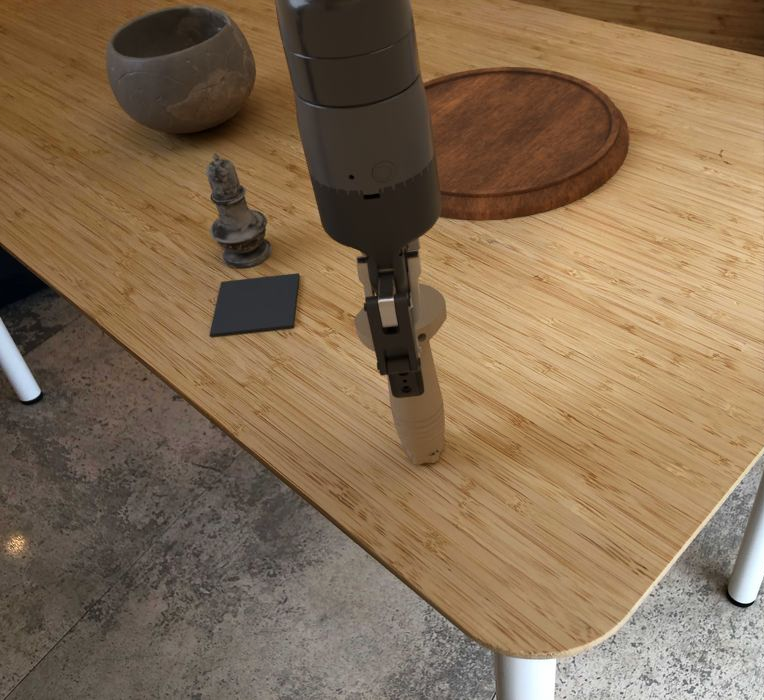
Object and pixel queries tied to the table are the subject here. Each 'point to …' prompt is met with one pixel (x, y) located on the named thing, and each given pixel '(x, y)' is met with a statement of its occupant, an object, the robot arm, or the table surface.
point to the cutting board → (521, 141)
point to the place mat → (255, 305)
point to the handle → (425, 412)
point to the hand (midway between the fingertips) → (407, 352)
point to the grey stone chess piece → (236, 218)
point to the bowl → (180, 68)
